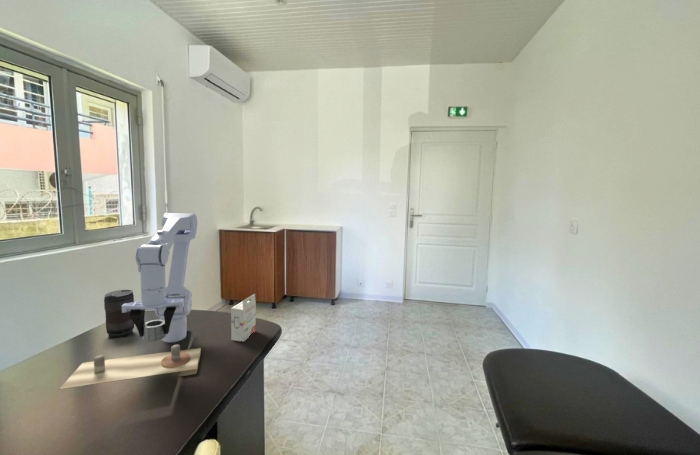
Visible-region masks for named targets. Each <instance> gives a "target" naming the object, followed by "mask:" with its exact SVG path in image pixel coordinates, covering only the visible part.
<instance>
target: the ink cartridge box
mask: <svg viewBox="0 0 700 455" xmlns="http://www.w3.org/2000/svg"><path fill="white" fill-rule="evenodd" d="M256 302H257V301H256V293H253V294H252V295H250V296H248V297H246V298H245V299H243V300H241V302H239V303H238V304H235V305H234V306H231V308H230V319H231V320H230V326H231V328H230V329H231V330H230V331H231V333H230V334H231V335H230V336H231V339H230V340H231V341H234V342H235V341H236V342H241V341H242V343H243V342H246V340H247V339H248V338H250V337H251V336H252V335H253V334H254V333H255V332H256V326H257V325H256V320H257V316H256V315H257V314H256V313H257V311H256V310H257V309H256V308H257V307H256V306H257V303H256ZM253 332H254V333H253ZM252 333H253V334H252ZM251 334H252V335H251ZM250 335H251V336H250ZM249 336H250V337H249Z"/></svg>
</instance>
